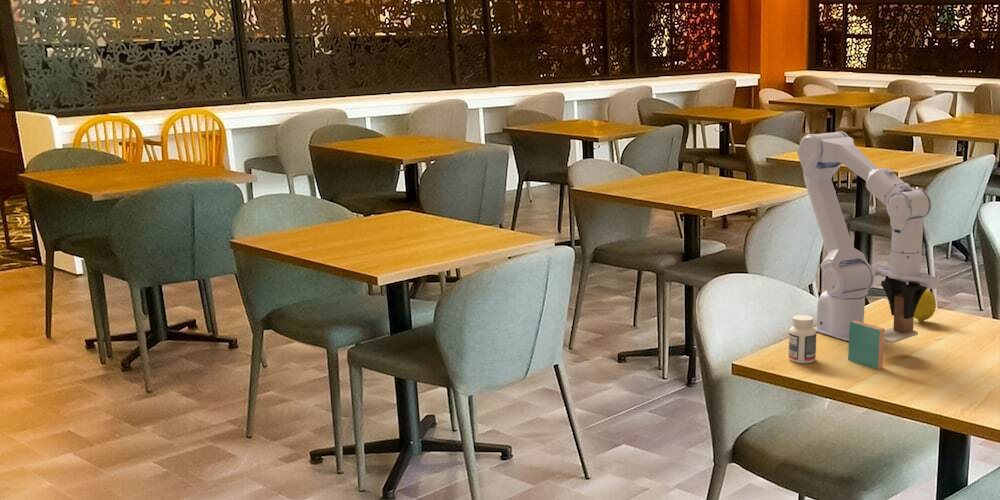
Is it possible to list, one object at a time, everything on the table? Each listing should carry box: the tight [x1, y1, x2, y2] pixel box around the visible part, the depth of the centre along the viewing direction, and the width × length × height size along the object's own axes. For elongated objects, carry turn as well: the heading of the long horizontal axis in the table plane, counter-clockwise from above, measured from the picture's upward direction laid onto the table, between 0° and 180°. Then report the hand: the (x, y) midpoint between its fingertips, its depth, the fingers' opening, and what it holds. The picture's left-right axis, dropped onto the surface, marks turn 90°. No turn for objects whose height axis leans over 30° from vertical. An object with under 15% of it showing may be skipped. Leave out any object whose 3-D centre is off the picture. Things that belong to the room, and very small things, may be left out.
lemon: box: [914, 288, 937, 323], centre depth 229 cm, size 6×6×8 cm
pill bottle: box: [788, 314, 817, 364], centre depth 207 cm, size 5×5×9 cm
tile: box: [847, 320, 886, 370], centre depth 204 cm, size 7×2×8 cm, turn 32°
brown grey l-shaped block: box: [884, 293, 919, 345], centre depth 207 cm, size 5×8×8 cm, turn 122°
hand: (902, 316), depth 208 cm, fingers closed on brown grey l-shaped block, 2 cm apart
